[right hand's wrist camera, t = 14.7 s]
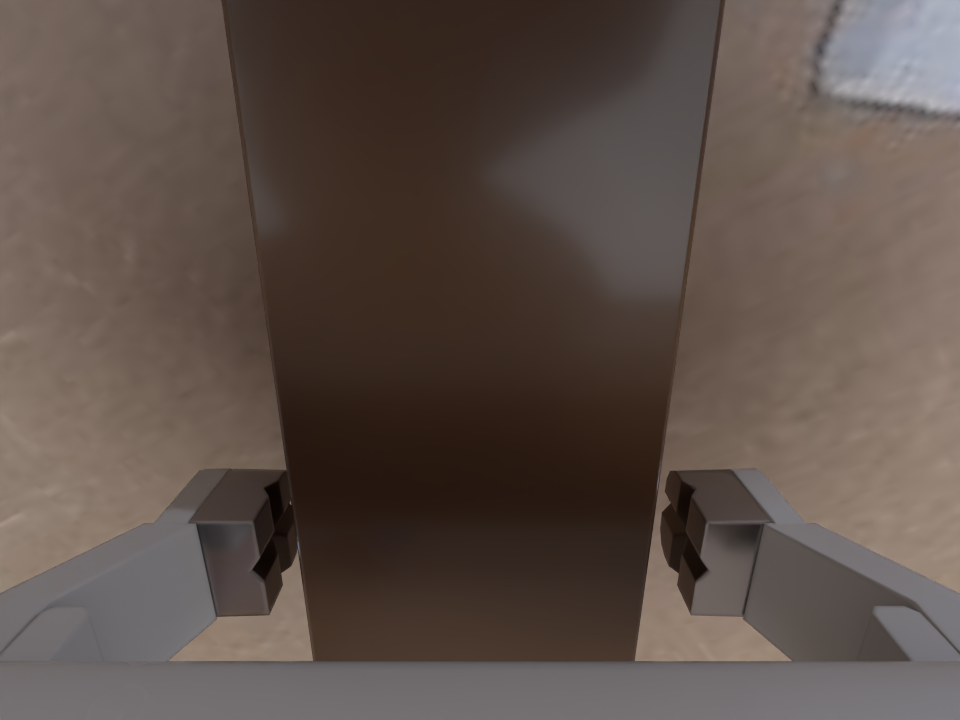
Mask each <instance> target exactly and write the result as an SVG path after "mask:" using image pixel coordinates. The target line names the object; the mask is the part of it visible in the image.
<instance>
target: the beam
mask: <svg viewBox="0 0 960 720" xmlns="http://www.w3.org/2000/svg"><path fill="white" fill-rule="evenodd" d="M724 6H725V0H222V7H223V14H224V21H225V28H226V36H227V43H228V50H229V57H230V64H231V72H232V79H233V86H234V93H235V100H236V108H237V115H238V122H239V129H240V136H241V144H242V151H243V158H244V165H245V173H246V180H247V187H248V194H249V201H250V209H251V216H252V223H253V230H254V237H255V245H256V252H257V259H258V266H259V273H260V281H261V288H262V295H263V302H264V309H265V317H266V324H267V331H268V338H269V345H270V353H271V360H272V367H273V374H274V381H275V389H276V396H277V403H278V410H279V417H280V425H281V432H282V439H283V446H284V453H285V461H286V468H287V475H288V482H289V489H290V497H291V504H292V511H293V518H294V525H295V533H296V540H297V547H298V554H299V561H300V569H301V576H302V583H303V590H304V597H305V605H306V612H307V619H308V626H309V633H310V641H311V648H312V655H313V661H635V654H636V647H637V640H638V632H639V625H640V618H641V611H642V603H643V596H644V589H645V582H646V574H647V567H648V560H649V552H650V545H651V538H652V531H653V523H654V516H655V509H656V501H657V494H658V487H659V480H660V472H661V465H662V458H663V450H664V443H665V436H666V429H667V421H668V414H669V407H670V399H671V392H672V385H673V378H674V370H675V363H676V356H677V349H678V341H679V334H680V327H681V319H682V312H683V305H684V298H685V290H686V283H687V276H688V268H689V261H690V254H691V247H692V239H693V232H694V225H695V217H696V210H697V203H698V196H699V188H700V181H701V174H702V166H703V159H704V152H705V145H706V137H707V130H708V123H709V115H710V108H711V101H712V94H713V86H714V79H715V72H716V65H717V57H718V50H719V43H720V35H721V28H722V21H723V14H724Z"/></svg>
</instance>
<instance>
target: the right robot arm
mask: <svg viewBox="0 0 960 720" xmlns="http://www.w3.org/2000/svg"><path fill="white" fill-rule="evenodd" d="M665 492H666V494H667V496H668V498H669V500H670V502H671V503H670V505H669V506H668V507H667V508H666V509H665V510H664V511H663V512H662V517H661V526H660V531H661V544H662V548H663V552H664V556H665V558H666V561H667V563H668V565H669V566H670V567H671V568H672V569H674V570H675V571H677V572H678V573H679V577H678V583H677V586H678V588H679V590H680V592H681V594H682V597H683V599H684V601H685V603H686V605H687V608H688V610H689V612H690V614H691V615H701V616H737V617H744V618H743V619H744V620H745V621H746V622H747V623H748V624H750V625H751V626H752V627H753V628H754V629H756V630H757V631H758V632H759V633H760V634H761V635H763V636H764V637H765V638H766V639H767V640H768V641H770V642H771V643H772V644H773V645H774V646H775V647H777V648H778V649H779V650H780V651H781V652H783V653H784V654H785V655H786V656H787V657H788V658H790V659H791V660H792V661H168V660H170V659H171V658H172V657H173V656H174V655H175V654H177V653H178V652H179V651H180V650H181V649H182V648H184V647H185V646H186V645H187V644H188V643H190V642H191V641H192V640H193V639H194V638H195V637H197V636H198V635H199V634H200V633H201V632H202V631H204V630H205V629H206V628H207V627H208V626H210V625H211V624H212V623H213V622H214V621H215V620H216V619H217V618H216V617H223V616H258V615H269V614H270V612H271V610H272V608H273V606H274V603H275V601H276V599H277V597H278V595H279V592H280V590H281V588H282V586H283V583H282V576H281V573H282V572H284V571H285V570H286V569H288V568H289V567H291V565H292V563H293V561H294V558H295V556H296V553H297V548H298V547H297V540H296V533H295V525H294V518H293V511H292V505H291V504H290V503H289V502H290V500H291V497H290V489H289V482H288V475H287V470H264V469H204V470H200V471H199V472H198V473H197V474H196V475H195V476H194V477H193V478H192V480H191V481H190V482H189V483H188V484H187V485H186V487H185V488H184V489H183V490H182V491H181V492H180V493H179V495H178V496H177V497H176V498H175V499H174V500H173V502H172V503H171V504H170V505H169V506H168V507H167V509H166V510H165V511H164V512H163V513H162V514H161V515H160V517H159V518H158V519H157V520H156V521H155V522H154V523H144V524H142V525H140V526H138V527H136V528H134V529H132V530H130V531H128V532H126V533H124V534H121V535H119V536H117V537H115V538H113V539H111V540H109V541H107V542H105V543H103V544H101V545H99V546H97V547H95V548H93V549H91V550H89V551H86V552H84V553H82V554H80V555H78V556H76V557H74V558H72V559H70V560H68V561H66V562H64V563H62V564H60V565H58V566H56V567H54V568H51V569H49V570H47V571H45V572H43V573H41V574H39V575H37V576H35V577H33V578H31V579H29V580H27V581H25V582H23V583H21V584H18V585H16V586H14V587H12V588H10V589H8V590H6V591H4V592H2V593H0V720H960V593H958V592H956V591H954V590H952V589H949V588H947V587H945V586H943V585H941V584H939V583H937V582H935V581H933V580H931V579H929V578H927V577H925V576H923V575H921V574H919V573H917V572H915V571H912V570H910V569H908V568H906V567H904V566H902V565H900V564H898V563H896V562H894V561H892V560H890V559H888V558H886V557H884V556H882V555H880V554H878V553H876V552H873V551H871V550H869V549H867V548H865V547H863V546H861V545H859V544H857V543H855V542H853V541H851V540H849V539H847V538H845V537H843V536H841V535H839V534H836V533H834V532H832V531H830V530H828V529H826V528H824V527H822V526H820V525H818V524H816V523H806V522H805V521H804V520H803V519H802V518H801V517H800V515H799V514H798V513H797V512H796V511H795V510H794V508H793V507H792V506H791V505H790V504H789V503H788V502H787V500H786V499H785V498H784V497H783V496H782V495H781V493H780V492H779V491H778V490H777V489H776V488H775V486H774V485H773V484H772V483H771V482H770V481H769V480H768V478H767V477H766V476H765V475H764V474H763V473H762V471H760V470H757V469H755V468H749V469H725V470H685V471H670V472H669V475H668V477H667V481H666V487H665Z"/></svg>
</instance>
